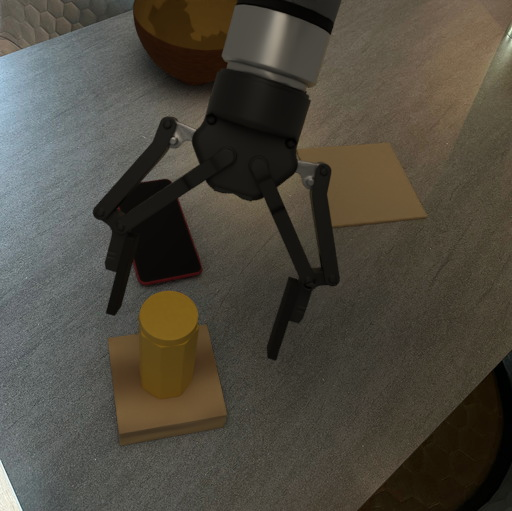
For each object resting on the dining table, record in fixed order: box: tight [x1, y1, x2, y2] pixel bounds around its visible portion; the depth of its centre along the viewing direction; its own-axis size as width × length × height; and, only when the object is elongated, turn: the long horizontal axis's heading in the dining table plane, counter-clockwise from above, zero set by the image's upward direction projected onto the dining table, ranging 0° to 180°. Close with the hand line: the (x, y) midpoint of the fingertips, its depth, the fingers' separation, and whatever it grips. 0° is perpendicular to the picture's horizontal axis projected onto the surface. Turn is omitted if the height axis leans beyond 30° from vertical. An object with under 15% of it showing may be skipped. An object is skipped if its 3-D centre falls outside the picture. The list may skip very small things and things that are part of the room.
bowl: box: [132, 0, 237, 86], centre depth 90 cm, size 18×18×10 cm
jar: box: [137, 290, 200, 399], centre depth 56 cm, size 5×5×11 cm
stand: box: [107, 323, 228, 447], centre depth 59 cm, size 10×10×8 cm
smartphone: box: [117, 178, 203, 287], centre depth 74 cm, size 7×1×15 cm
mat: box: [296, 142, 428, 229], centre depth 84 cm, size 14×14×1 cm
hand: (192, 332), depth 52 cm, fingers open, 13 cm apart
